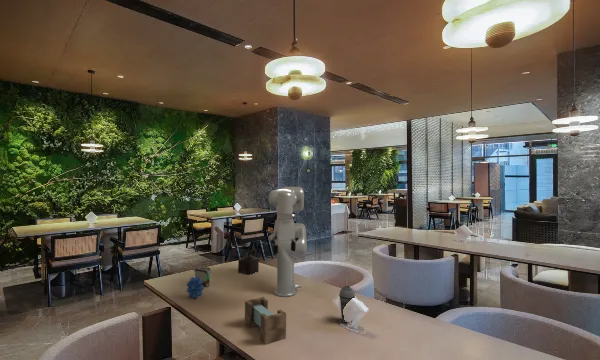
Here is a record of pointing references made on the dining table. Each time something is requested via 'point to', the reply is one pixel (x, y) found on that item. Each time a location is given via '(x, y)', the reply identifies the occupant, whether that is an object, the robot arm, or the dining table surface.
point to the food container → (203, 275)
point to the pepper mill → (248, 263)
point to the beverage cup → (345, 297)
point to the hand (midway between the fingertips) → (284, 251)
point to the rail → (259, 313)
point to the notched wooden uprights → (267, 321)
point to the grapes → (195, 287)
